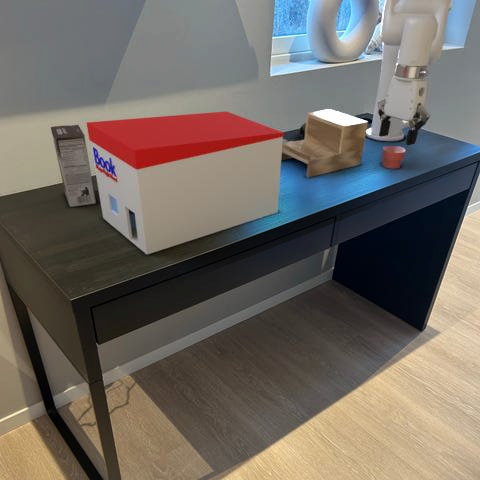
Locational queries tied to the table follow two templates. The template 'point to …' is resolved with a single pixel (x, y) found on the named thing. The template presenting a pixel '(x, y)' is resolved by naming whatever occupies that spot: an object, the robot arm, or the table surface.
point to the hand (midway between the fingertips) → (396, 140)
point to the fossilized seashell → (303, 129)
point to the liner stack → (392, 156)
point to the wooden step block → (328, 142)
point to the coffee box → (74, 164)
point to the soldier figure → (284, 140)
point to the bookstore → (184, 175)
